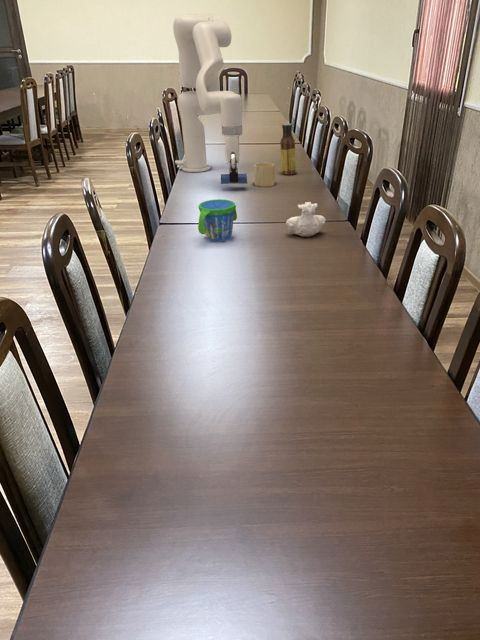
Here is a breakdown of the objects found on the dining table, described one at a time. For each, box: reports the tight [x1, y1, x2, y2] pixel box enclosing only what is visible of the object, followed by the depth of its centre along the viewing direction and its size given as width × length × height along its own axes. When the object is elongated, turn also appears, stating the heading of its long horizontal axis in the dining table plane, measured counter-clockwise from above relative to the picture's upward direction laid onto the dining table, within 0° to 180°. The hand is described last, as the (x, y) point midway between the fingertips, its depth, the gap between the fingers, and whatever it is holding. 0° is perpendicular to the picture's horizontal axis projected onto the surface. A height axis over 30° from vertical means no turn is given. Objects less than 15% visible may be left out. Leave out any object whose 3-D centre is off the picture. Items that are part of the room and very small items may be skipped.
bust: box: [285, 201, 326, 238], centre depth 158 cm, size 12×8×11 cm
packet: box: [220, 173, 248, 185], centre depth 207 cm, size 10×6×2 cm, turn 93°
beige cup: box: [253, 162, 276, 188], centre depth 213 cm, size 8×8×8 cm
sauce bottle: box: [279, 123, 297, 176], centre depth 225 cm, size 7×6×20 cm
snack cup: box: [197, 198, 238, 242], centre depth 157 cm, size 16×10×10 cm
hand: (233, 180), depth 207 cm, fingers closed on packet, 5 cm apart
